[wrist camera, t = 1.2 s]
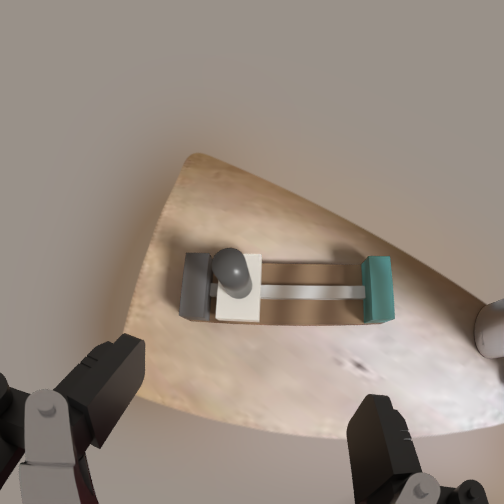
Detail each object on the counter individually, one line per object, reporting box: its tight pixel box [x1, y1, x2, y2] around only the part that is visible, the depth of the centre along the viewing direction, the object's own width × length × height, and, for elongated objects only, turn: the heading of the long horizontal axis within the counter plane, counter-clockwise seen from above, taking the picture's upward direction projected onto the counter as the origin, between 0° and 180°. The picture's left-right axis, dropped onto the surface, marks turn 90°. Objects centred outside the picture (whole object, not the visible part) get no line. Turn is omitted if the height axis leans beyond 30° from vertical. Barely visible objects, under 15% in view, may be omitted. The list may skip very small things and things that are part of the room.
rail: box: [179, 253, 395, 326], centre depth 35 cm, size 26×8×5 cm, turn 87°
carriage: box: [212, 248, 262, 322], centre depth 31 cm, size 5×8×10 cm, turn 177°
